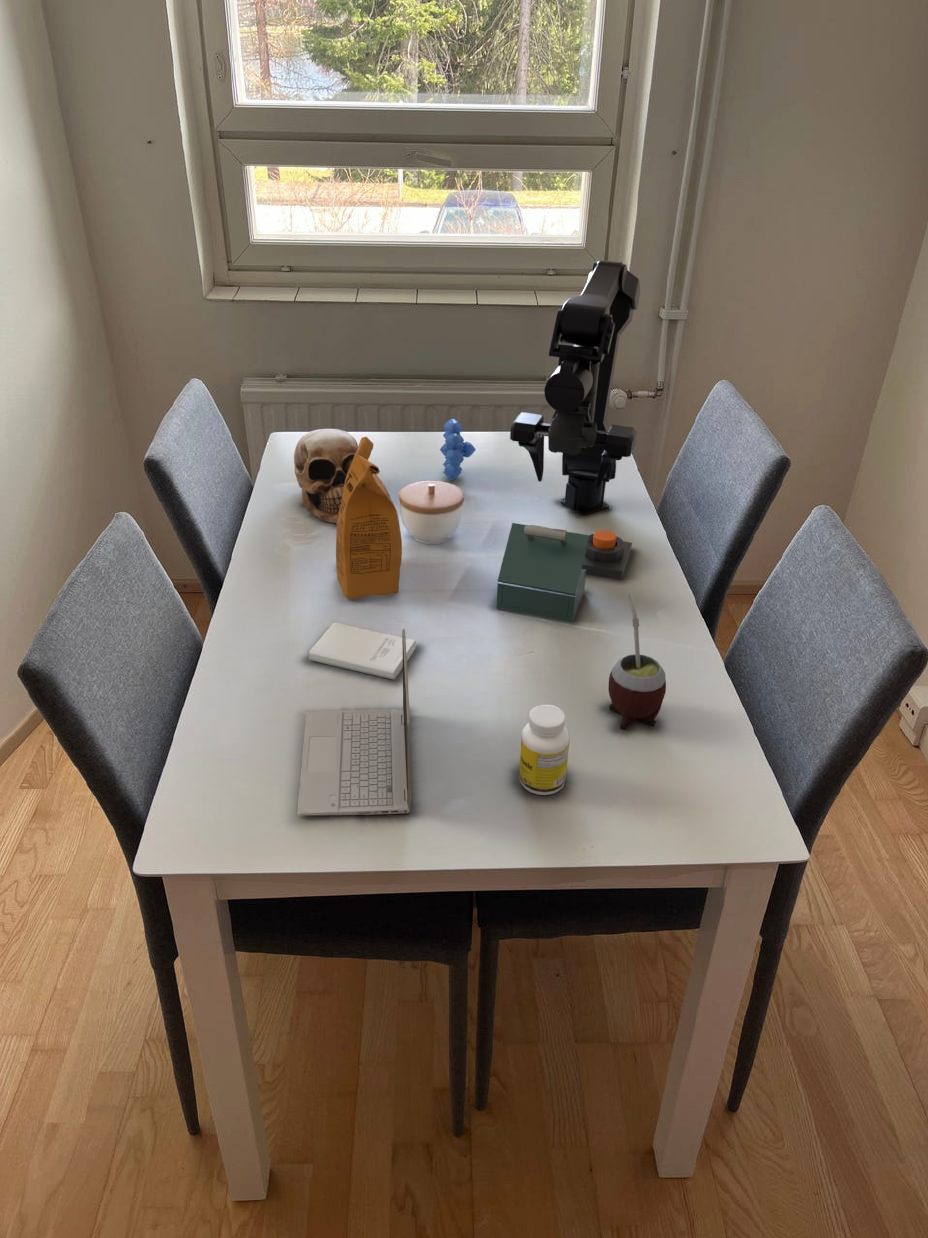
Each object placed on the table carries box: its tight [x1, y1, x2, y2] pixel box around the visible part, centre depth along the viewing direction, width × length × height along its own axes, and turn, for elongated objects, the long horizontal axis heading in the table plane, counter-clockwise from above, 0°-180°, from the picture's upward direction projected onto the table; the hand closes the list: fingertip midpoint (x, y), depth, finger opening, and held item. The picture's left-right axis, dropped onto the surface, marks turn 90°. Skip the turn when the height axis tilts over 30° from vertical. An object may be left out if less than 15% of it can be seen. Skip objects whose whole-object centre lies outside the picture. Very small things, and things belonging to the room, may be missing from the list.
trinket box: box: [398, 480, 465, 545], centre depth 157 cm, size 11×11×9 cm
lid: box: [497, 522, 590, 596], centre depth 136 cm, size 9×12×4 cm
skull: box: [293, 428, 359, 525], centre depth 167 cm, size 16×17×13 cm
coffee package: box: [335, 436, 403, 600], centre depth 140 cm, size 10×12×22 cm
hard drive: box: [308, 622, 417, 680], centre depth 129 cm, size 2×8×12 cm
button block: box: [582, 533, 633, 581], centre depth 152 cm, size 10×8×4 cm
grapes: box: [439, 418, 477, 481], centre depth 175 cm, size 12×7×12 cm, turn 3°
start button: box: [593, 529, 617, 549], centre depth 151 cm, size 4×4×2 cm
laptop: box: [296, 628, 412, 816], centre depth 108 cm, size 18×12×13 cm
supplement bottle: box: [518, 704, 570, 796], centre depth 107 cm, size 5×5×10 cm
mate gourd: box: [607, 593, 667, 731], centre depth 116 cm, size 8×8×15 cm
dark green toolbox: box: [496, 569, 587, 623], centre depth 142 cm, size 9×12×4 cm
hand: (568, 484), depth 149 cm, fingers open, 9 cm apart
